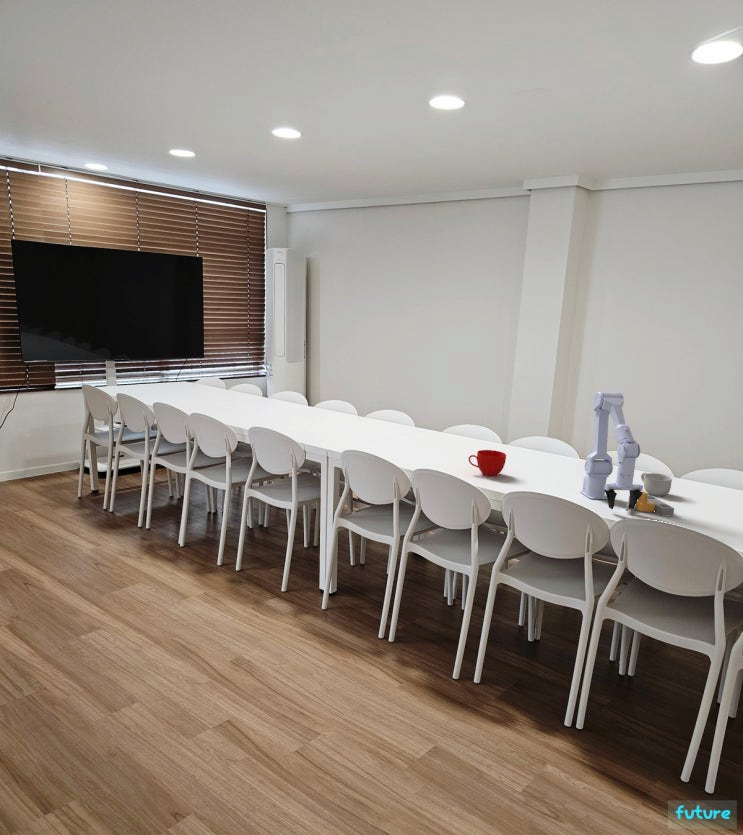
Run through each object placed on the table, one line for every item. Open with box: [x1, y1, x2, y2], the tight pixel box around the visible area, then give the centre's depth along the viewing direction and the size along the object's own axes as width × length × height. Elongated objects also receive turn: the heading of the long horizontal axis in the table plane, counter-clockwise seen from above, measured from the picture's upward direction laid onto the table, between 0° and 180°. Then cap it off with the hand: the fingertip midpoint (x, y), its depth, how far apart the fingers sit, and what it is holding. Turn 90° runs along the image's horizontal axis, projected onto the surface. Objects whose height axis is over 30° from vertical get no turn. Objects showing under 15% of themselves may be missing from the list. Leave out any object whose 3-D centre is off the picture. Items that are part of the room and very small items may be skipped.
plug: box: [634, 491, 655, 513], centre depth 240 cm, size 4×6×7 cm
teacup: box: [640, 472, 673, 497], centre depth 265 cm, size 14×11×8 cm
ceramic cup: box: [468, 449, 507, 477], centre depth 279 cm, size 13×17×10 cm
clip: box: [625, 495, 630, 512], centre depth 240 cm, size 12×2×4 cm, turn 151°
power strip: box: [638, 494, 675, 517], centre depth 243 cm, size 16×5×3 cm, turn 8°
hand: (620, 508), depth 235 cm, fingers open, 7 cm apart
